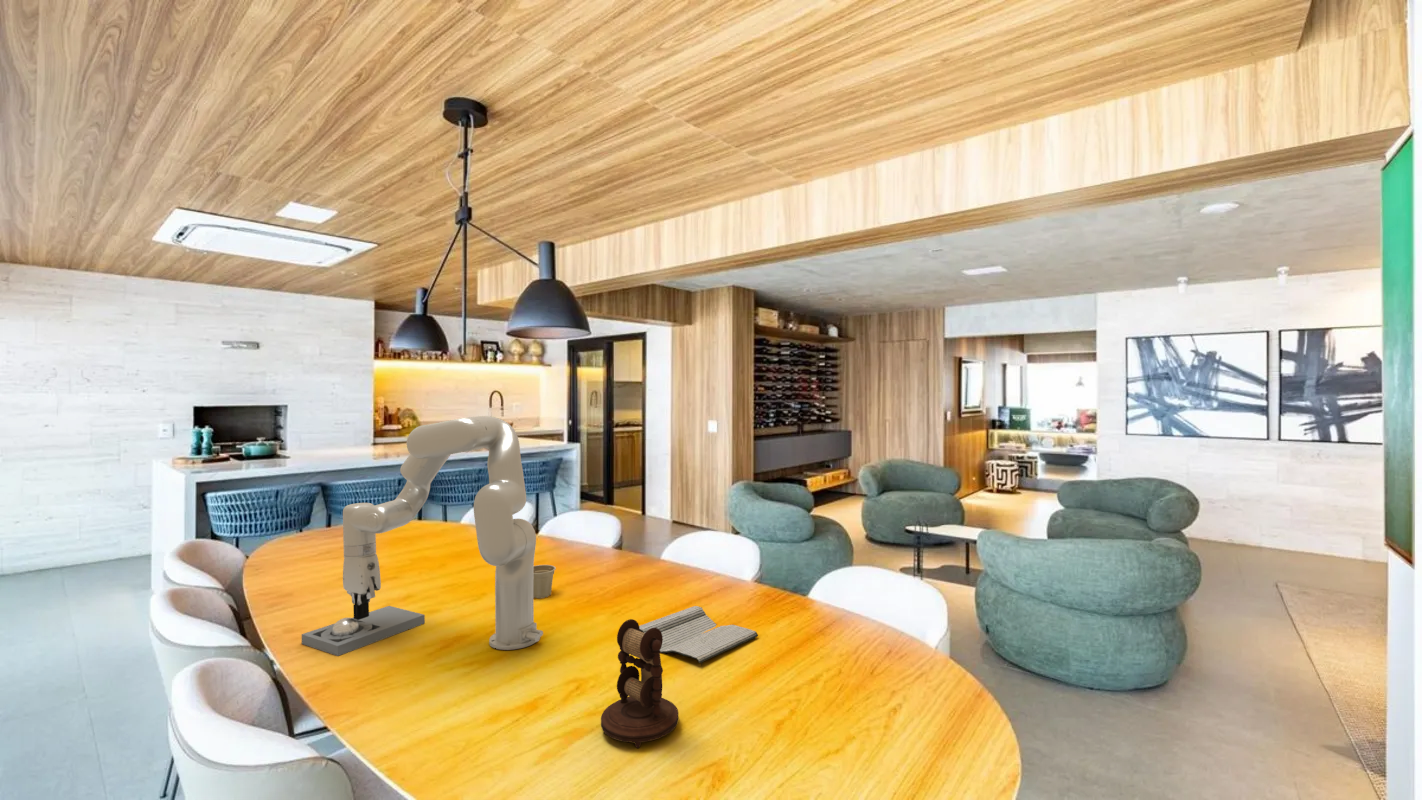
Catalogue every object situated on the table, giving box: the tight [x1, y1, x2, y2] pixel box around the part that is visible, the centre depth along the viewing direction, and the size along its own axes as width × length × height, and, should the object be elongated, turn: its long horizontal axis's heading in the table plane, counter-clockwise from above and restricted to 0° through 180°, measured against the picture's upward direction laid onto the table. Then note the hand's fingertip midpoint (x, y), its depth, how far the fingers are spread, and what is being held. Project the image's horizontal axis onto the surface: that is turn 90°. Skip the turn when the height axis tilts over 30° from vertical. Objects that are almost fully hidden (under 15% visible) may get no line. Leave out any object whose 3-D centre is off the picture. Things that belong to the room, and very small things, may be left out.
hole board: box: [301, 605, 425, 657], centre depth 162 cm, size 16×24×2 cm, turn 152°
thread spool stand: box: [600, 618, 679, 749], centre depth 115 cm, size 15×15×20 cm
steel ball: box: [332, 617, 359, 636], centre depth 157 cm, size 6×6×6 cm
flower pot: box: [533, 564, 557, 599], centre depth 192 cm, size 9×9×9 cm
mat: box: [639, 605, 759, 667], centre depth 156 cm, size 23×24×5 cm
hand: (361, 617), depth 161 cm, fingers closed
